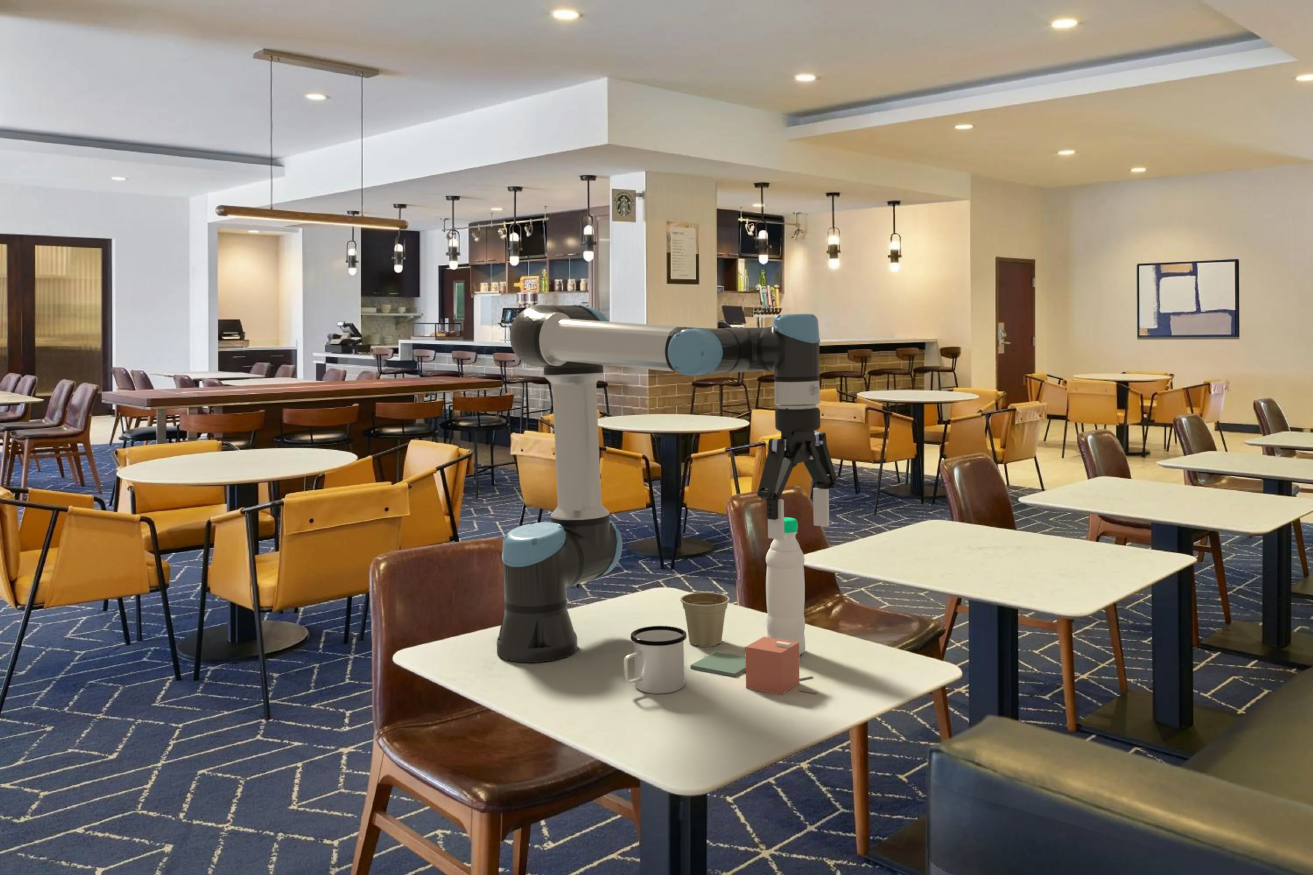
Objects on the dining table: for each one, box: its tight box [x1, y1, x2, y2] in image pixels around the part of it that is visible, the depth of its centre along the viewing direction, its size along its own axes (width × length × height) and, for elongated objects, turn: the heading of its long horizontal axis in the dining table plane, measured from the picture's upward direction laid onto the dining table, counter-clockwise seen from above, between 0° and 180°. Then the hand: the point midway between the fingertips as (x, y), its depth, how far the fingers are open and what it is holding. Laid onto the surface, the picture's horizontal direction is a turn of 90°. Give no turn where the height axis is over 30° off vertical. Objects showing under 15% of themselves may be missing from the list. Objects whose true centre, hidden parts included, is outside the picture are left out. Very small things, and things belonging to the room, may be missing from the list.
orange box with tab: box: [745, 636, 800, 696], centre depth 172 cm, size 7×7×8 cm
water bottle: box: [765, 516, 806, 656], centre depth 188 cm, size 7×7×25 cm
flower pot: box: [680, 591, 731, 648], centre depth 196 cm, size 9×9×9 cm
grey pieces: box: [798, 675, 818, 695], centre depth 172 cm, size 10×9×4 cm
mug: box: [623, 625, 688, 695], centre depth 172 cm, size 12×10×9 cm
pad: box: [690, 651, 746, 678], centre depth 183 cm, size 9×9×1 cm
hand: (799, 532), depth 174 cm, fingers open, 13 cm apart
